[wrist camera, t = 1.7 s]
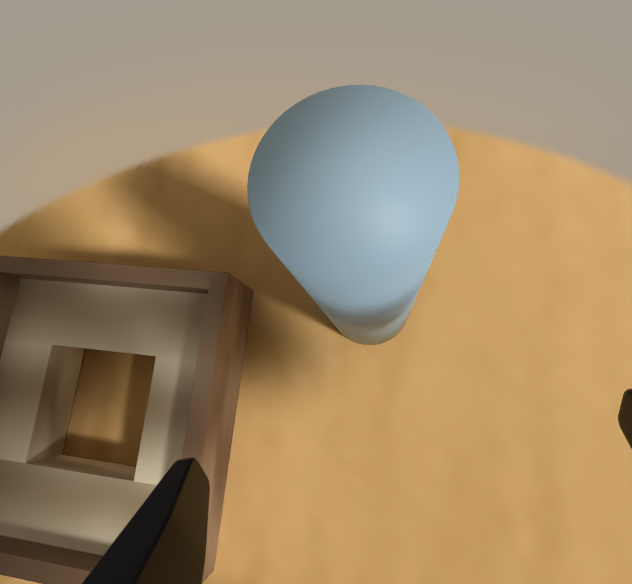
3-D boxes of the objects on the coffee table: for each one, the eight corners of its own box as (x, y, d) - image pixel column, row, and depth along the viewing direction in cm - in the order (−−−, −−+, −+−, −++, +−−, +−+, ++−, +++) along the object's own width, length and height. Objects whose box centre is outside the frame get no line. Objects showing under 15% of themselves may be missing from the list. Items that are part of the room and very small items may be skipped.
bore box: (213, 570, 20) (176, 612, 16) (-14, 525, 22) (-92, 554, 19) (252, 290, 23) (228, 272, 19) (45, 273, 25) (-13, 254, 21)
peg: (406, 348, 21) (454, 289, 7) (326, 340, 22) (233, 273, 8) (411, 270, 22) (464, 85, 8) (333, 264, 22) (261, 85, 9)
